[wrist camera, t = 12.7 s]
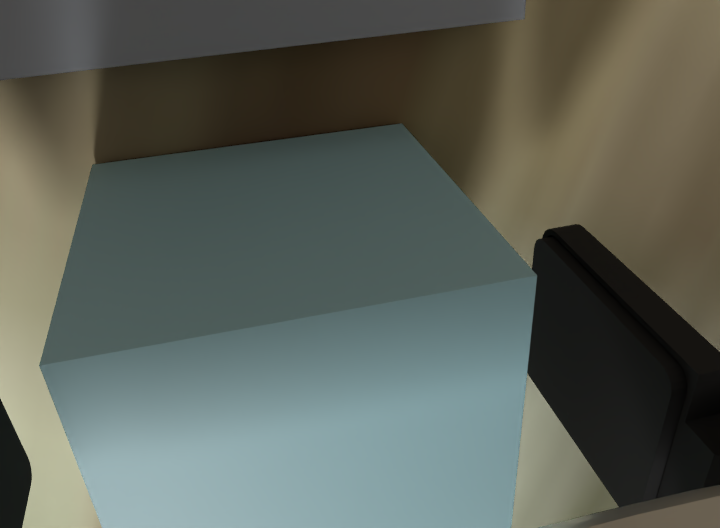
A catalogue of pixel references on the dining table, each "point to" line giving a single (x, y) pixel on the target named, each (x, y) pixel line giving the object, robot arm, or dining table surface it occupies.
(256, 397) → the teal block
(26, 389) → the dining table surface
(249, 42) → the grey flat slab
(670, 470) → the robot arm
